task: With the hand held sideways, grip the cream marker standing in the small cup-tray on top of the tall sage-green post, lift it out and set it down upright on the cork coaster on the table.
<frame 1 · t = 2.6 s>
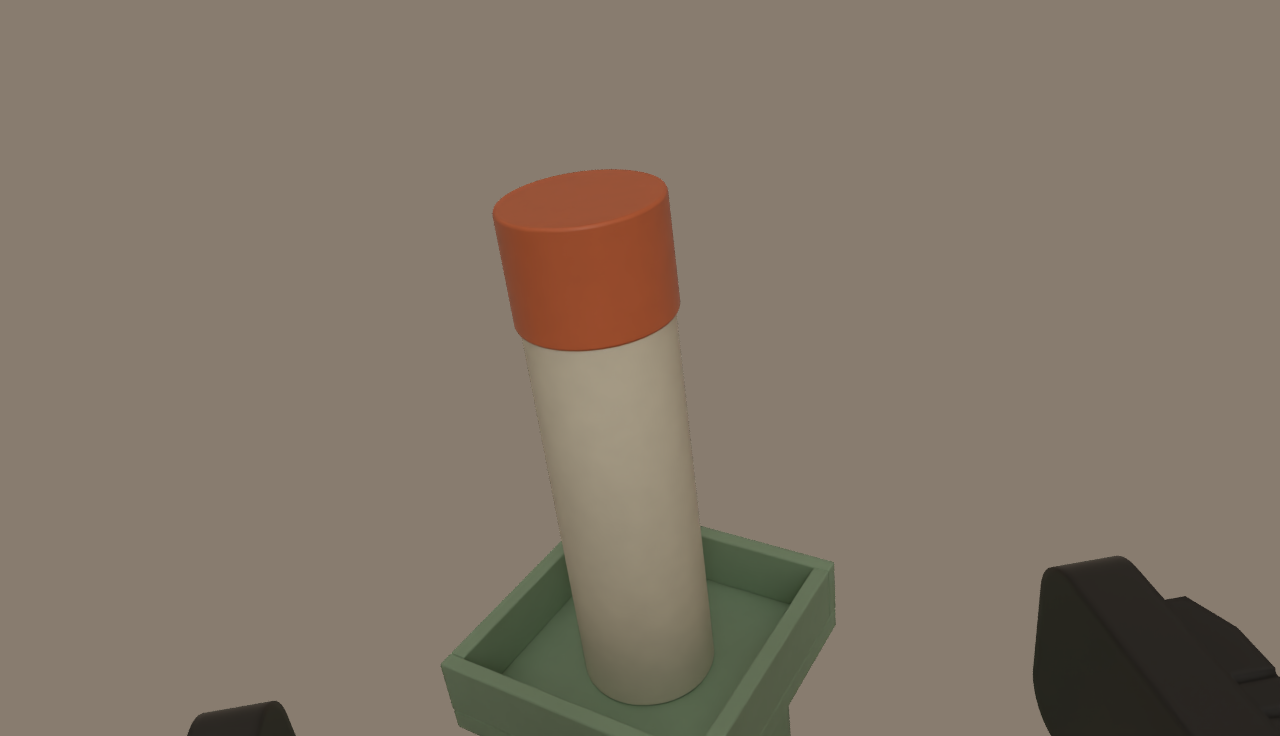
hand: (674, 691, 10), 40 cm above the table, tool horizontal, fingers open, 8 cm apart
marker: (650, 656, 25), point 30 cm above the table, touching holder
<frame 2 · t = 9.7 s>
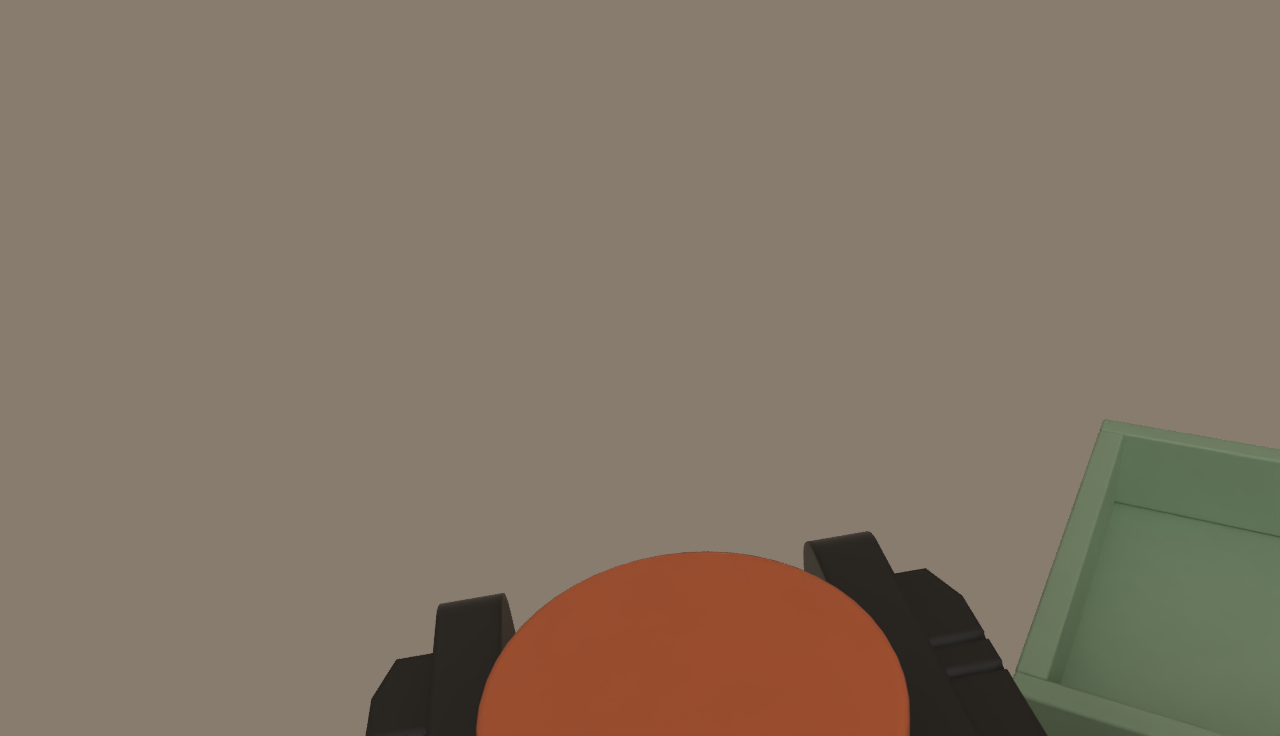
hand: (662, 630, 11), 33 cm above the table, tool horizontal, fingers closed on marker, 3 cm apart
when the fingers open (10 cm above the table, at t = 13.7 s): marker stays where it is, resting on coaster.
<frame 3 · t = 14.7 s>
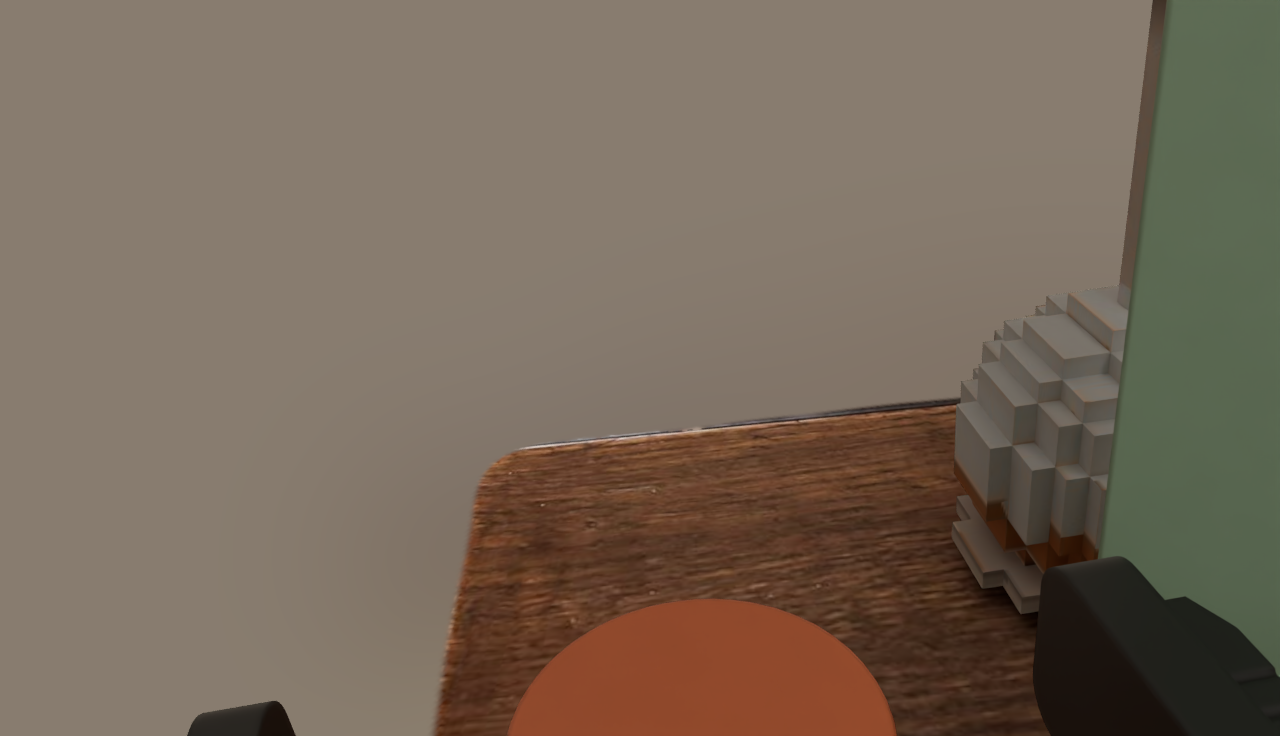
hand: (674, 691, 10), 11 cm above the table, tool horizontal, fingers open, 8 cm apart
white blocky ovoid: (1101, 562, 28), on the table
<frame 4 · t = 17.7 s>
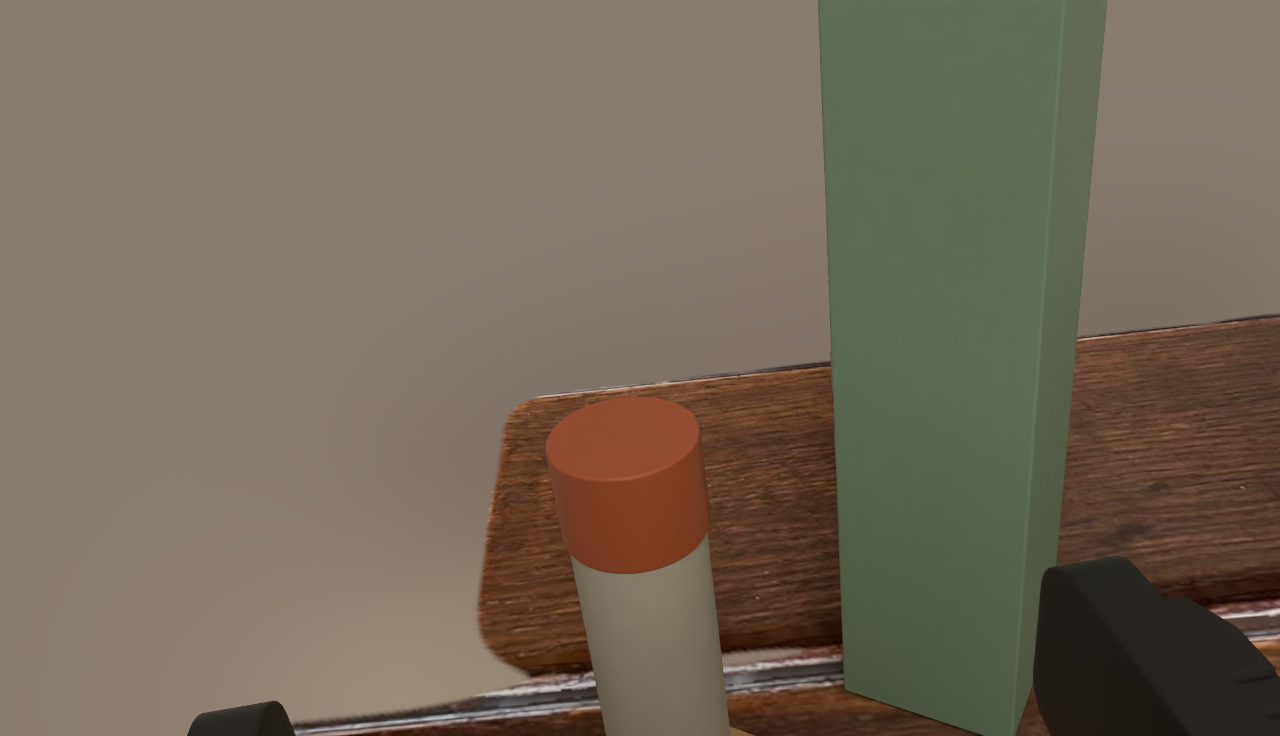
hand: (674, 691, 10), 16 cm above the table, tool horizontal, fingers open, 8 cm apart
holder: (948, 660, 31), on the table
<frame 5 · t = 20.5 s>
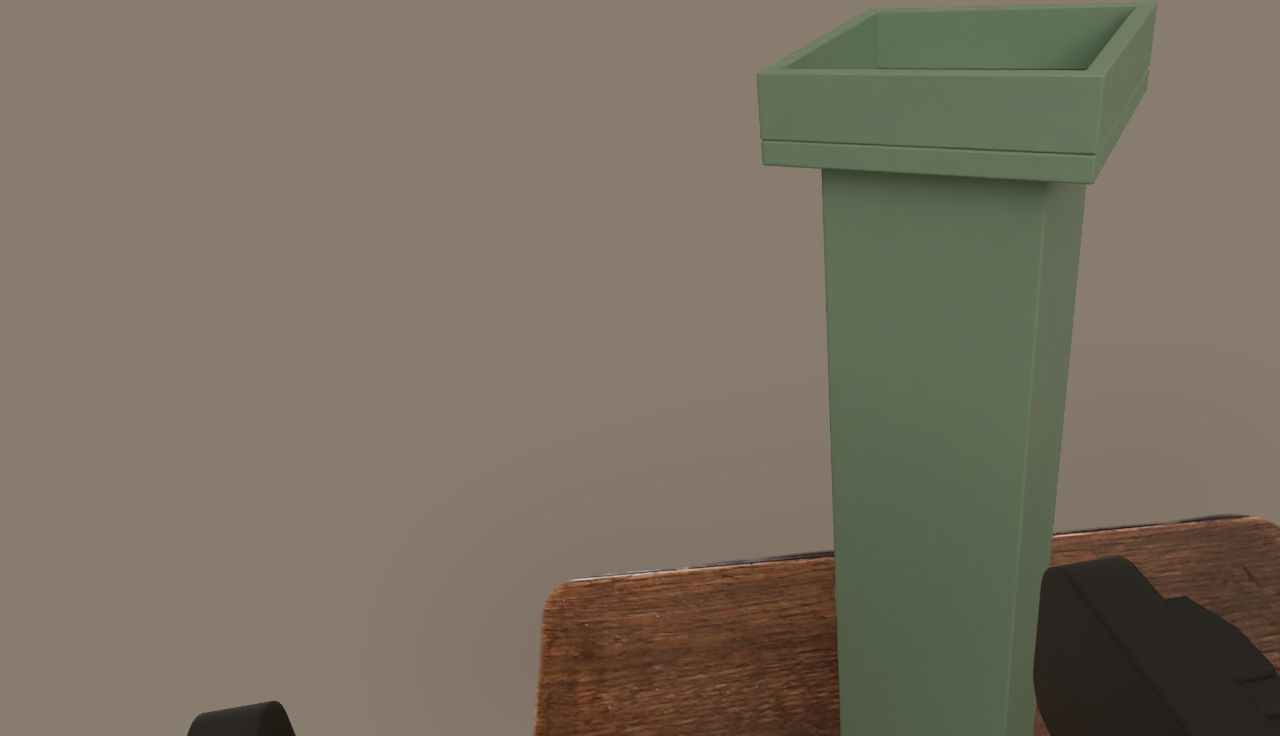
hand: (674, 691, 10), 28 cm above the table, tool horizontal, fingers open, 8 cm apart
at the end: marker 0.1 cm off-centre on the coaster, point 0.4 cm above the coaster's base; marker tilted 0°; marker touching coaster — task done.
